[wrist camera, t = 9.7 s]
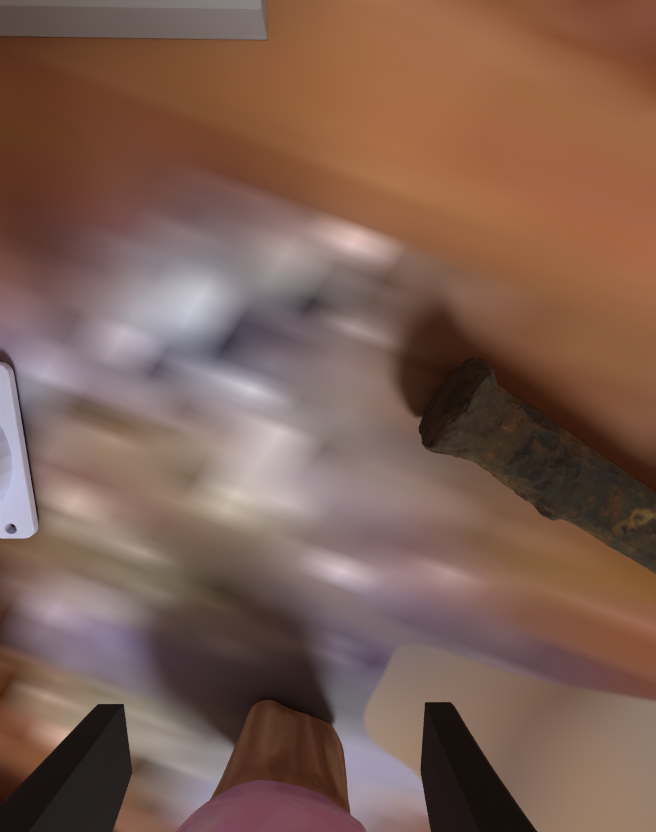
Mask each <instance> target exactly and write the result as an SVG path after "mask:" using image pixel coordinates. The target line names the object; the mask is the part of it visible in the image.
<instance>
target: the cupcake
mask: <svg viewBox="0 0 656 832" xmlns="http://www.w3.org/2000/svg"><path fill="white" fill-rule="evenodd" d="M176 832H366V830H365V828H364V827H363V825H362V824H361V823H360V822H359V821H358V820H356V819H355V818H354V817H352V816H351V815H350V807H349V801H348V792H347V777H346V768H345V759H344V751H343V747H342V744H341V741H340V739H339V737H338V735H337V733H336V731H335V729H334V728H333V726H332V725H331V724H329V723H326V722H325V721H323V720H321V719H318V718H315V717H312V716H309V715H307V714H306V713H301V712H298V711H295V710H292V709H290V708H288V707H285V706H283V705H282V704H280V703H278V702H276V701H273V700H263V701H259V702H257V703H255V704H254V705H253V706H252V708H251V710H250V711H249V714H248V716H247V718H246V721H245V724H244V726H243V729H242V732H241V734H240V736H239V739H238V741H237V743H236V745H235V748H234V750H233V753H232V755H231V757H230V760H229V762H228V764H227V767H226V769H225V771H224V774H223V776H222V778H221V780H220V782H219V784H218V786H217V788H216V790H215V792H214V794H213V796H212V798H211V799H210V801H208V802H207V803H205V804H204V805H203V806H202V807H200V808H199V809H198V810H197V811H195V812H194V813H193V814H192V815H191V816H190V817H189V818H188V819H187V820H186V821H185V822H184V823H183V824H182V825H181V826H180V827H179V828H178V830H177V831H176Z"/></svg>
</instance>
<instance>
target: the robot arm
mask: <svg viewBox="0 0 656 832" xmlns="http://www.w3.org/2000/svg"><path fill="white" fill-rule="evenodd" d="M11 524H14V525H15V526H16V528H17V530H16V529H14V528H13V527H12V525H11ZM37 530H38V520H37V514H36V508H35V501H34V495H33V489H32V483H31V477H30V470H29V464H28V458H27V452H26V445H25V439H24V433H23V427H22V421H21V414H20V408H19V402H18V396H17V390H16V383H15V377H14V372H13V370H12V368H11V367H10V366H9V365H8V364H7V363H5V362H0V538H29V537H30V536H32V535H33V534H34V533H36V532H37ZM131 774H132V766H131V759H130V751H129V743H128V735H127V727H126V719H125V711H124V704H98V705H97V706H96V707H95V708H94V709H93V710H92V711H91V712H90V713H89V714H88V715H87V716H86V717H85V718H84V719H83V720H82V721H81V722H80V723H79V724H78V725H77V726H76V727H75V729H74V730H73V731H72V732H71V733H70V734H69V735H68V736H67V737H66V738H65V739H64V740H63V741H62V742H61V743H60V744H59V745H58V746H57V747H56V749H55V750H54V751H53V752H52V753H51V754H50V755H49V756H48V757H47V758H46V759H45V760H44V761H43V762H42V763H41V764H40V765H39V766H38V767H37V768H36V769H35V770H34V771H33V772H32V774H31V775H30V776H29V777H28V778H27V779H26V780H25V781H24V782H23V783H22V784H21V785H20V786H19V787H18V788H17V789H16V790H15V791H14V792H13V793H12V794H11V795H10V796H9V797H8V798H7V799H6V800H5V801H4V802H3V803H2V804H1V805H0V832H112V831H113V828H114V825H115V822H116V820H117V817H118V814H119V811H120V808H121V805H122V802H123V799H124V796H125V793H126V790H127V787H128V784H129V781H130V777H131ZM421 776H422V782H423V788H424V794H425V800H426V806H427V812H428V817H429V823H430V828H431V832H537V831H536V830H535V828H534V827H533V825H532V824H531V823H530V821H529V820H528V819H527V817H526V816H525V814H524V813H523V811H522V810H521V809H520V807H519V806H518V804H517V803H516V801H515V800H514V798H513V797H512V796H511V794H510V793H509V791H508V790H507V788H506V787H505V785H504V784H503V783H502V781H501V780H500V778H499V777H498V775H497V774H496V772H495V771H494V769H493V768H492V766H491V765H490V763H489V762H488V760H487V759H486V757H485V755H484V754H483V752H482V751H481V749H480V748H479V746H478V745H477V743H476V741H475V740H474V738H473V736H472V735H471V733H470V732H469V730H468V728H467V727H466V725H465V723H464V722H463V720H462V718H461V717H460V715H459V713H458V712H457V710H456V708H455V707H454V705H453V704H452V703H450V702H426V703H425V712H424V727H423V741H422V756H421Z"/></svg>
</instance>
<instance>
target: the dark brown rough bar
mask: <svg viewBox="0 0 656 832" xmlns="http://www.w3.org/2000/svg"><path fill="white" fill-rule="evenodd" d="M419 433H420V434H421V436H422V444H423V445H424V447H425V448H426V449H428V450H429V451H430V452H434V453H440V454H447V455H452V456H454V457H461V458H463V459H466V460H470V461H473V462H475V463H477V464H478V465H479V466H481V467H482V468H483V469H485V470H486V471H488V472H490V473H491V474H492V475H493V476H494V477H496V478H497V479H498V480H499V481H500V482H501V483H503V484H504V485H506V486H507V487H509V488H511V489H512V490H514V491H515V493H516V494H517V495H518V496H520V497H521V498H523V499H524V500H526V501H529V502H530V503H531V504H532V505H533V506H534V507H535V508H536V509H537V510H538V512H539V513H540V514H541V515H542V516H544V517H546V518H549V519H551V520H557V519H562V520H565V521H568V522H570V523H572V524H574V525H576V526H578V527H580V528H581V529H583V530H585V531H586V532H588V533H589V534H591V535H592V536H594V537H595V538H597V539H599V540H600V541H602V542H603V543H605V544H606V545H608V546H609V547H611V548H613V549H615V550H617V551H619V552H620V553H622V554H624V555H625V556H627V557H629V558H631V559H632V560H634V561H636V562H638V563H639V564H641V565H642V566H644V567H646V568H647V569H649V570H650V571H652V572H653V573H655V574H656V493H655V492H654V491H652V490H651V489H650V488H649V487H647V486H646V485H644V484H643V483H641V482H640V481H638V480H636V479H635V478H633V477H632V476H631V475H629V474H628V473H627V472H625V471H624V470H623V469H621V468H620V467H618V466H617V465H615V464H614V463H612V462H611V461H609V460H608V459H606V458H605V457H604V456H602V455H601V454H599V453H598V452H597V451H595V450H594V449H592V448H591V447H589V446H588V445H587V444H585V443H584V442H583V441H581V440H580V439H579V438H577V437H576V436H574V435H573V434H571V433H570V432H568V431H567V430H565V429H564V428H562V427H561V426H559V425H558V424H557V423H555V422H554V421H552V420H551V419H550V418H548V417H547V416H545V415H544V414H543V413H541V412H540V411H539V410H537V409H536V408H535V407H533V406H531V405H529V404H527V403H525V402H523V401H522V400H520V399H519V398H517V397H515V396H514V395H512V394H511V393H509V392H508V391H506V390H505V389H504V388H502V387H501V386H500V385H499V384H498V383H497V381H496V377H495V373H494V370H493V369H492V367H491V365H490V364H489V362H487V361H485V360H482V359H475V357H473V358H470V359H467V360H466V361H465V362H464V363H463V364H462V365H461V366H459V367H457V368H456V369H455V370H454V371H453V372H452V374H451V375H450V377H449V378H448V379H447V381H446V382H445V383H444V384H443V385H442V386H441V387H440V388H439V390H438V391H437V392H436V394H435V395H434V397H433V398H432V400H431V401H430V403H429V405H428V407H427V409H426V411H425V413H424V415H423V417H422V420H421V423H420V426H419Z"/></svg>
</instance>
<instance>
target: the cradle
mask: <svg viewBox="0 0 656 832" xmlns="http://www.w3.org/2000/svg"><path fill="white" fill-rule="evenodd" d="M0 36H38V37H108V38H178V39H247V40H267V9H266V0H0Z"/></svg>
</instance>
